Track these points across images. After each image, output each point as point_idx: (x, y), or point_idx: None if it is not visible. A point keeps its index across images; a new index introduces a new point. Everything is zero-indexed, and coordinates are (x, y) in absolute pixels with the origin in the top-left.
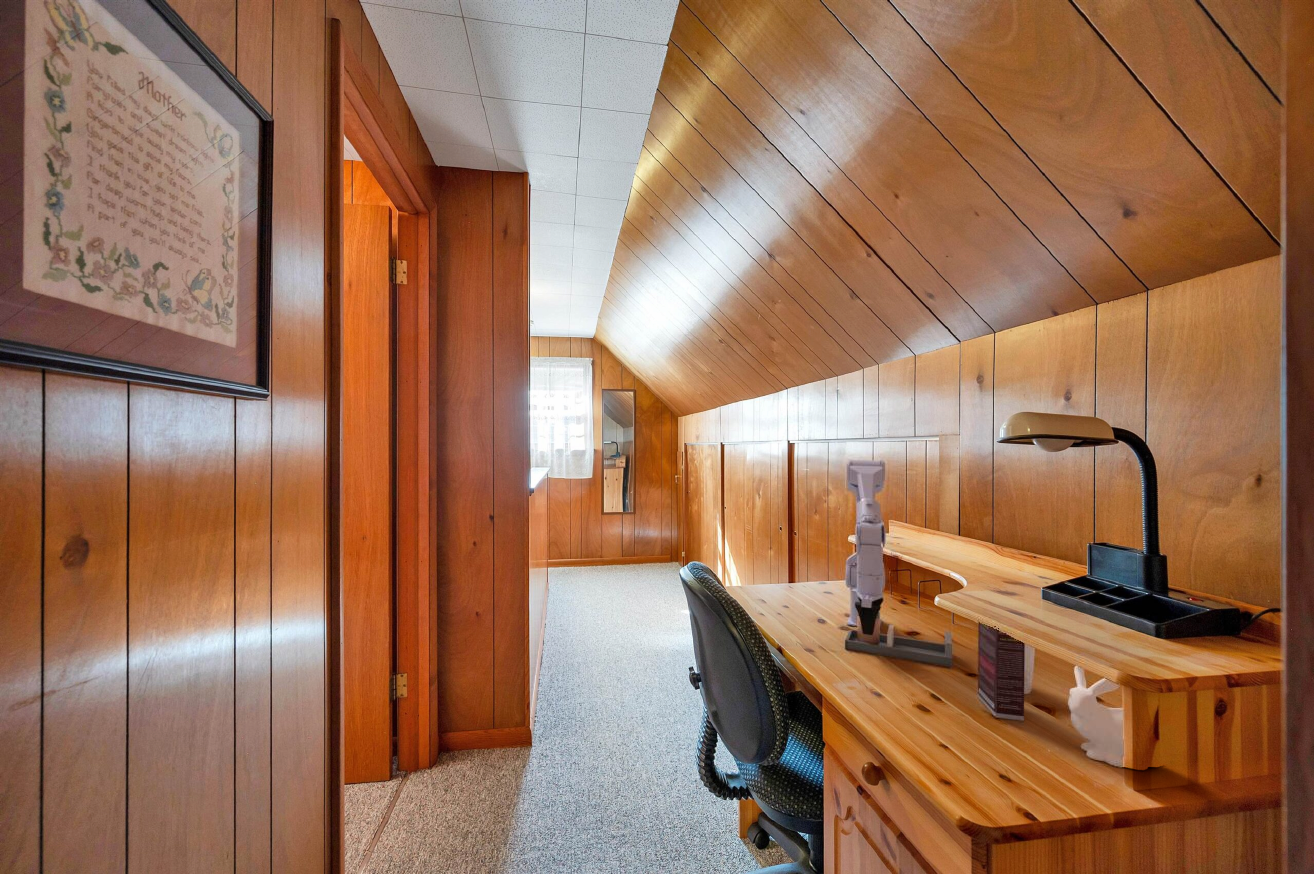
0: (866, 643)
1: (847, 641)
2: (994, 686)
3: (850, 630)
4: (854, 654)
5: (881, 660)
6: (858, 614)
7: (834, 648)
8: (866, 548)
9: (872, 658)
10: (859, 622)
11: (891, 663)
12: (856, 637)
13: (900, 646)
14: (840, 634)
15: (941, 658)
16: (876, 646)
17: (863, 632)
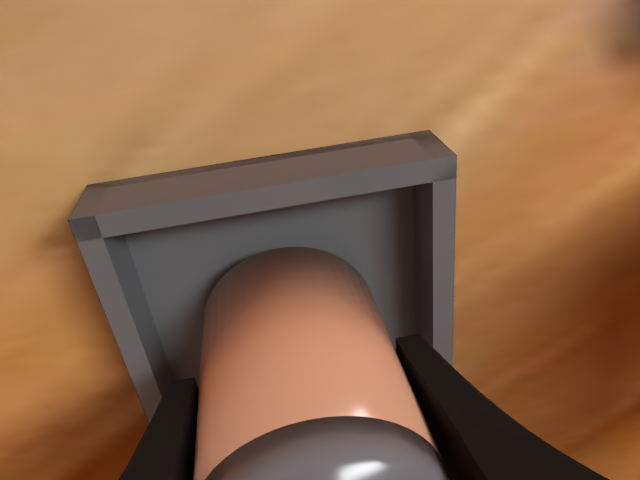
0: (137, 368)
1: (77, 236)
2: None
3: (413, 170)
4: (25, 276)
5: (69, 422)
6: (231, 473)
7: (21, 104)
8: None
9: (56, 379)
10: (214, 409)
11: (67, 466)
12: (410, 192)
13: None
14: (467, 31)
15: None
16: (151, 418)
17: (163, 395)
